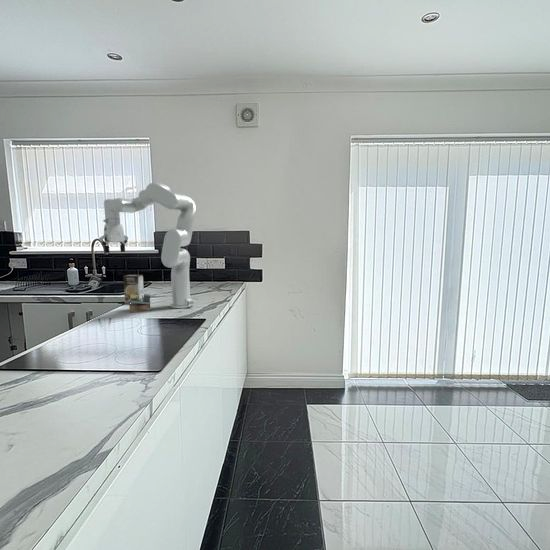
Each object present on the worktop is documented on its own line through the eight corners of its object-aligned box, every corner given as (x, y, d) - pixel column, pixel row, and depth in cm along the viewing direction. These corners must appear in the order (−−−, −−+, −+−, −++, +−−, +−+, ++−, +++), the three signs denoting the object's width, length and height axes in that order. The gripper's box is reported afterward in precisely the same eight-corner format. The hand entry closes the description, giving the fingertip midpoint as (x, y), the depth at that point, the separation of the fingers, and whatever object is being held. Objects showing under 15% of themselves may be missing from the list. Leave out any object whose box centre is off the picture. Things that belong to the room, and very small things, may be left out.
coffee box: (124, 303, 197) (122, 275, 195) (130, 301, 204) (128, 274, 201) (139, 304, 196) (137, 276, 194) (144, 301, 203) (143, 274, 201)
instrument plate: (149, 301, 187) (150, 294, 187) (150, 304, 180) (151, 296, 179) (129, 299, 183) (130, 292, 183) (129, 302, 176) (130, 294, 176)
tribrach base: (149, 307, 187) (149, 301, 187) (150, 310, 180) (150, 304, 180) (129, 309, 184) (129, 303, 183) (129, 312, 176) (129, 306, 176)
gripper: (102, 221, 185) (104, 253, 187) (130, 221, 200) (132, 251, 202) (94, 221, 189) (96, 253, 191) (122, 222, 203) (124, 251, 206)
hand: (115, 252), depth 196 cm, fingers open, 9 cm apart
